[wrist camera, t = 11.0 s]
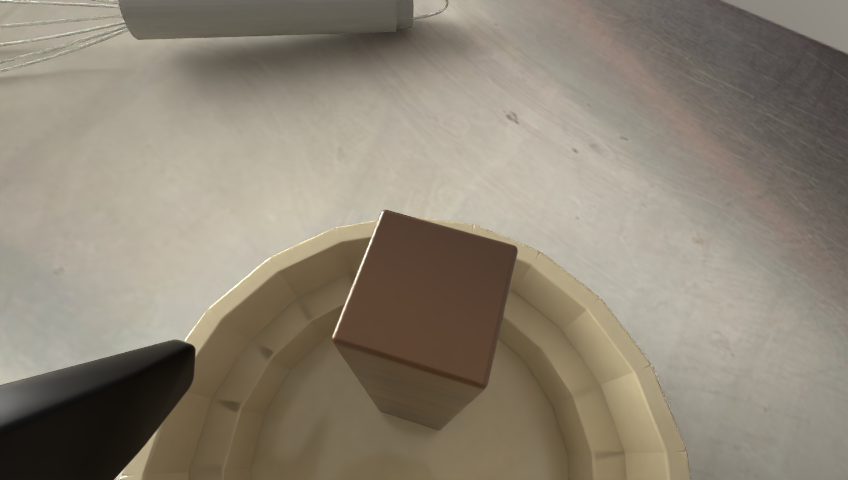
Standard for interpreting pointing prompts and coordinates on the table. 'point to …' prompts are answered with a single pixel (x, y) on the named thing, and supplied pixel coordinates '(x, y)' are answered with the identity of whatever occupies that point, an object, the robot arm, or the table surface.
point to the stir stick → (425, 317)
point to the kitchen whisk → (232, 19)
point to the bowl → (395, 437)
